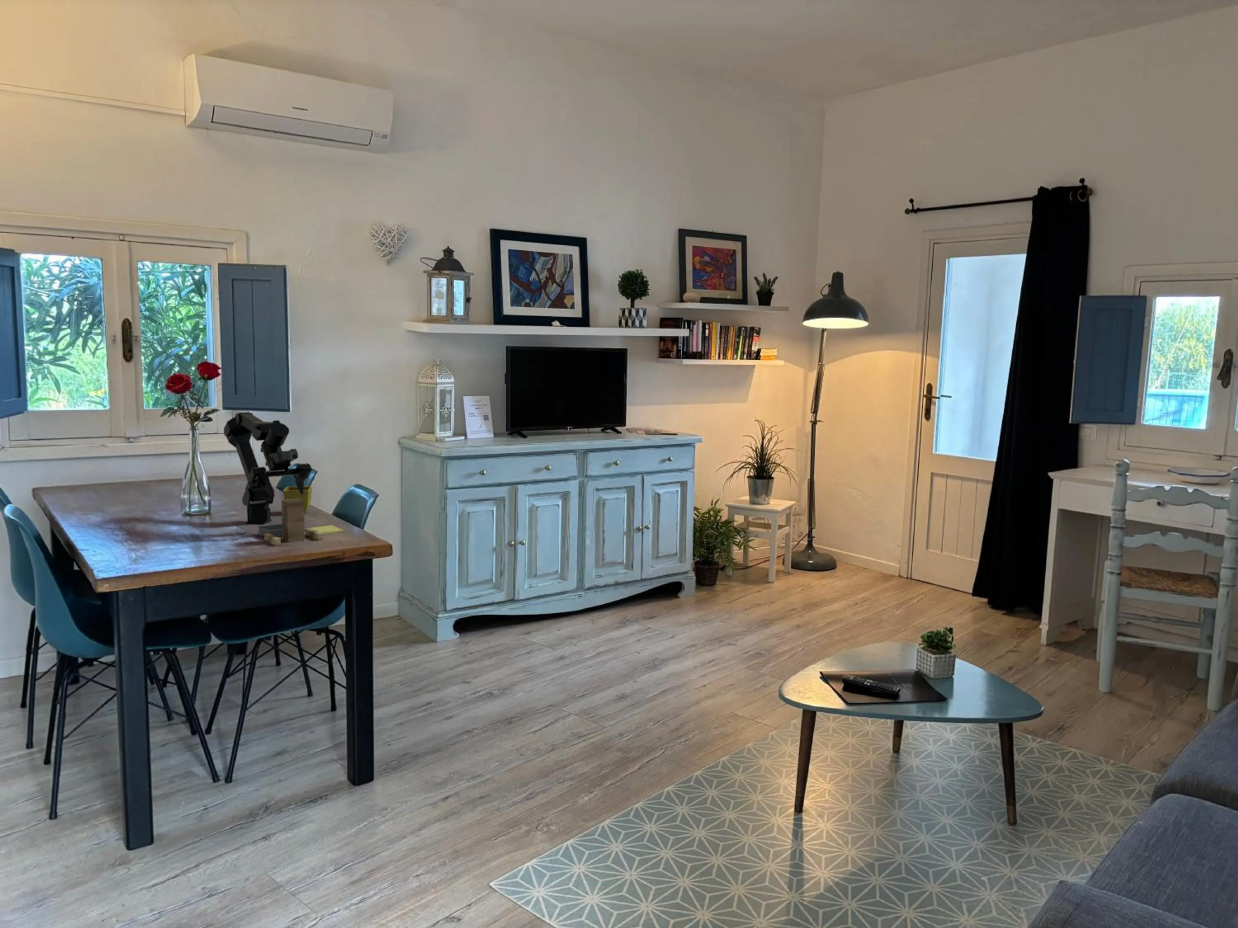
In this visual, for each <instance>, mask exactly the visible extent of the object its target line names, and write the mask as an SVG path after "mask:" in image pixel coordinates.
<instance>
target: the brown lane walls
mask: <svg viewBox="0 0 1238 928" xmlns="http://www.w3.org/2000/svg"><path fill="white" fill-rule="evenodd" d="M307 528H308V529H306V530H305V535H306V536H307V537H310V538H311V539H314V540H316V541H323V540H324V538H323V535H324V534H322V533H320V532H318V531H316V530H313V529H311V528H312V527H307ZM263 538H264V541H265V540H266V541H265V542H267V541H268V543H269V542H270V543H269V544H271V545H273V546H275V547H279V546H281V545H282V543H281V542H282V540H281V538H278V537H276V536H274V535H272V534H270V533H266V534H264V537H263Z"/></svg>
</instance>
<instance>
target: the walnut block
mask: <svg viewBox="0 0 1238 928" xmlns="http://www.w3.org/2000/svg"><path fill="white" fill-rule="evenodd" d="M281 524H282V530H283V537H282V540H283V541H284V542H287V543H295V542H303V541H305V539H306V538H305V535H306V534H305V513H304V502H303V501H302V500H300V499H288V500H284V499H282V500H281Z"/></svg>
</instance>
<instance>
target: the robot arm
mask: <svg viewBox="0 0 1238 928" xmlns="http://www.w3.org/2000/svg"><path fill="white" fill-rule="evenodd" d="M289 433H290V428H289V427H288V426H287V425H286V424H284V423H282V422H280V420H278V419H277V420H272V421H263V420H262V419H260V418H258V417H257V416H256V415H254V414H253V413H252V412H249V411H246V412H245V411H244V412H237V413H235V415H234V417H232V418H231V419H229V420H227V421H226V423H225V426H224V427H223V434H224V437H226V440H227V441H228V444H230V445H232V446H233V447H234V448H235V449H236V452H237V455H238V458H239V461H240V464H241V466H242V469H243V472H244V475H245V477H246V481H247V482H246V485H245V487H244V488H245V490H244V492H243V495H242V497H241V498H242V499H241V500H242V505H243V506H246V517H247V520H246V521H244V523H245V524H254V525H256V524H257V525H258V524H259V525H263V524H266V523H269V522H271V521H272V518H271V517H272V514H271V507H270V505H273V503H274V498H275V490H274V487H273V486H272V482H271V481H270V480H271V479H270V478H272V477H275V478H276V477H277V478H278V477H287V476H290V477H291V476H293V477H294V479H295V480H294V482H295V485H296V487H298V489H299V492H300V493H301V495H302V494H303V490H304V486H305V484H304V483H305V480H307V479H308V478H309V476H310V474H311V472H312V471H313V469H312V465H311V464H309V463H308V462H306V463H297V465H296V466H295V468H289V467H291V465H292V463H291V462H293V461H294V460H297V459H298V458H299V453H298V450H297V448H290V449H289V450H283V449H282V446H283V445H284V444H285V442H286V440H287V437H288V436H289ZM252 437H253V439H254V440H255V441H259V442H261V441H262V442H261V445H260V453H262V454H263V457H264V460H265V462H264V465H265V466H259V465H258V461H257V459H256V456H255V453H254V449H253V447H252V445H251V444H252V443H251V442H250V441H251V438H252ZM266 467H267V468H268V470H267V468H266Z"/></svg>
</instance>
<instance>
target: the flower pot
mask: <svg viewBox="0 0 1238 928" xmlns="http://www.w3.org/2000/svg"><path fill="white" fill-rule="evenodd" d="M312 488H313V487H312V486H311V485H309V486H305V485H304V490H303V494H302V495H301V493H300V492H299V489H298V487H297V486H286V487H285V488H284V489H283V490H282V492H283V500H288V499H300V500H302V501H303V502H304V514H306V513H307V511H308V510H309V508H310V506H311V502H312V501H311V500H312V490H313V489H312Z"/></svg>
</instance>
